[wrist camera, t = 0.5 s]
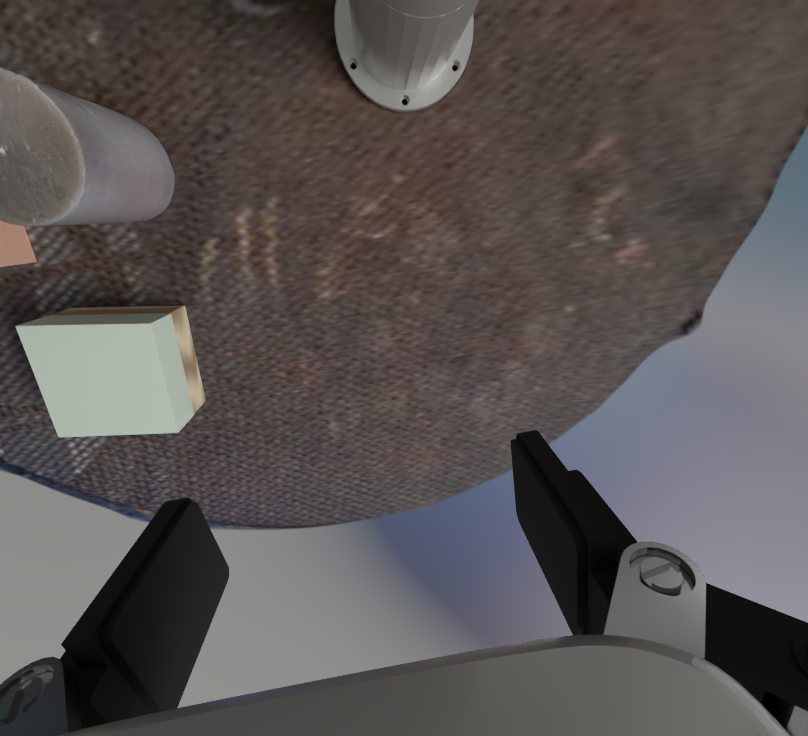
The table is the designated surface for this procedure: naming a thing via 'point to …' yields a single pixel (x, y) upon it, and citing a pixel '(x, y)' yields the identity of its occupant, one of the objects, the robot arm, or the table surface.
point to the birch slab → (181, 333)
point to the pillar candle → (75, 160)
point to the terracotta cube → (14, 245)
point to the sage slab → (109, 373)
